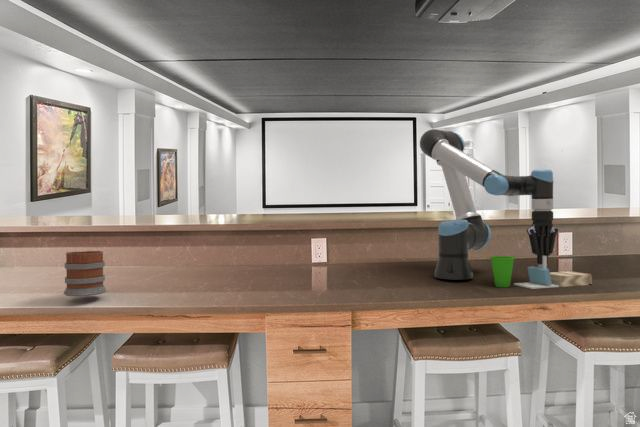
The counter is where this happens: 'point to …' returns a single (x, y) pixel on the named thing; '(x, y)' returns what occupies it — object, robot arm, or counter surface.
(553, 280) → the light wood flat block
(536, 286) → the mat
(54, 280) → the counter surface
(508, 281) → the cup
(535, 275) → the card
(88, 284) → the mug
